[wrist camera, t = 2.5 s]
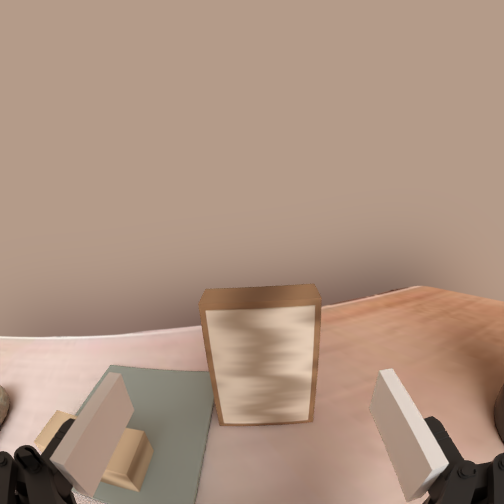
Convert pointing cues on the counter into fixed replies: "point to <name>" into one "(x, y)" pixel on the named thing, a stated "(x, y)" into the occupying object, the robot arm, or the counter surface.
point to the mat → (165, 433)
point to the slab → (262, 352)
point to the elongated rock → (3, 404)
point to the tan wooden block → (123, 459)
